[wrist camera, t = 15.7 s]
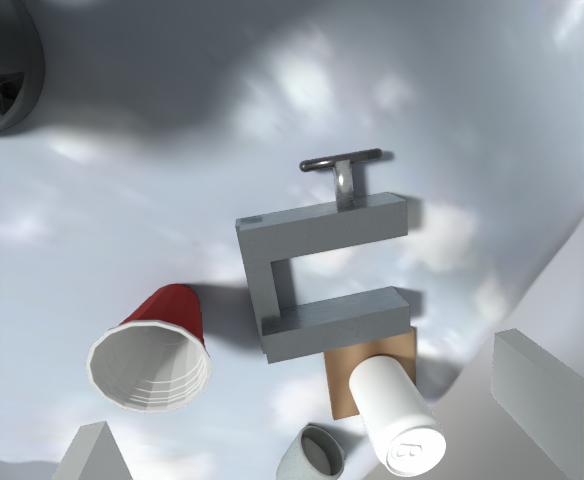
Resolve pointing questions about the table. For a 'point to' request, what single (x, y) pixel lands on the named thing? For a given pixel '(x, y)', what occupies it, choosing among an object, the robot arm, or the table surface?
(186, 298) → the plastic cup
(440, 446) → the beverage can
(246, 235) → the c-clamp
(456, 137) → the table surface
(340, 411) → the pad
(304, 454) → the ceramic mug
